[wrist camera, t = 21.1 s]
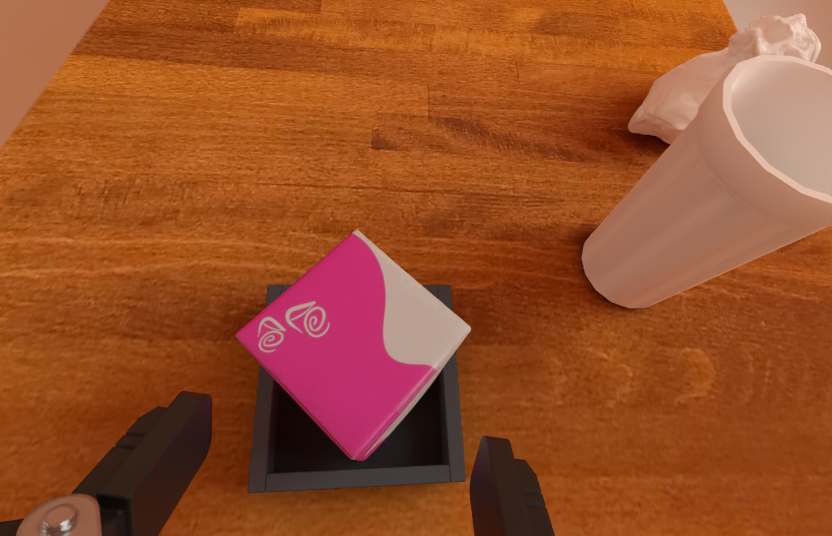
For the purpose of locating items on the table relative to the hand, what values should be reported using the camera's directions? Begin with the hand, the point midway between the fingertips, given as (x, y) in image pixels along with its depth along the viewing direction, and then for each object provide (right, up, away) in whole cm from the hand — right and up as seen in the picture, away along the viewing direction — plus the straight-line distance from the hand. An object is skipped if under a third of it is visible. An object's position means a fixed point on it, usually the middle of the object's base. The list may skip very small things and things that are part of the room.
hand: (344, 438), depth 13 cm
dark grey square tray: (-1, -2, +13) cm, 13 cm away
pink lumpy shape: (+24, +17, +24) cm, 38 cm away
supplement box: (-1, -2, +12) cm, 12 cm away
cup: (+16, +5, +18) cm, 25 cm away
